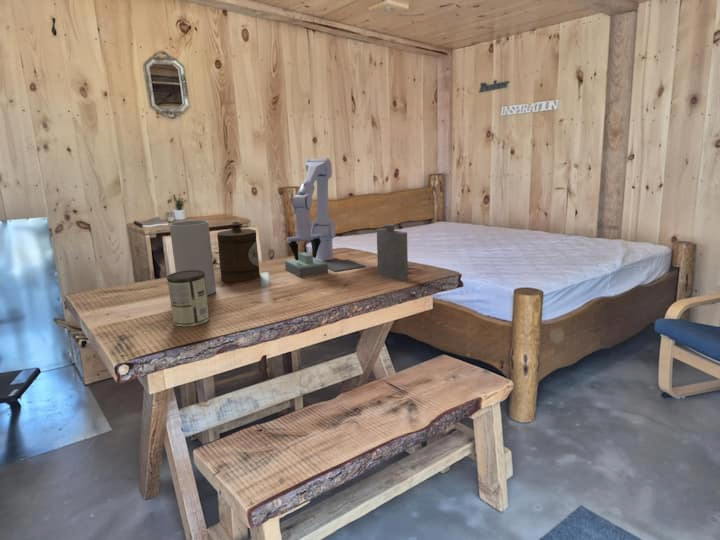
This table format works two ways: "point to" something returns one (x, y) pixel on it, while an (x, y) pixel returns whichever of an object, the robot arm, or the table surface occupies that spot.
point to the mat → (343, 265)
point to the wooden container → (238, 254)
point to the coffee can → (188, 298)
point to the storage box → (306, 270)
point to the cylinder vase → (193, 249)
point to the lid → (306, 261)
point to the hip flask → (392, 253)
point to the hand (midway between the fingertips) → (305, 258)
